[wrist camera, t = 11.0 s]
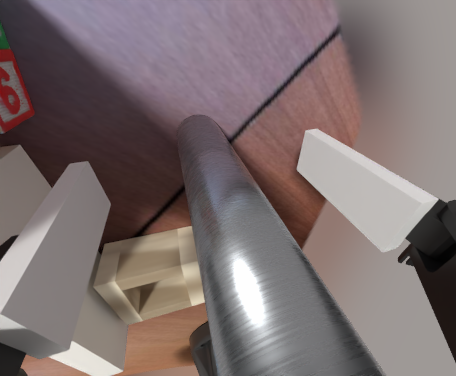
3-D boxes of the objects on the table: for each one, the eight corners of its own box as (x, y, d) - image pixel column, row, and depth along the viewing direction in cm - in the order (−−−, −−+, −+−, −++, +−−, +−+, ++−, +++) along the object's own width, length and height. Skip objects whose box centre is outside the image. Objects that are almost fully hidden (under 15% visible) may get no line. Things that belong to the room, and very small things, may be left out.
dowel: (221, 153, 15) (359, 411, 5) (180, 159, 15) (235, 472, 4) (219, 112, 14) (447, 392, 3) (172, 117, 13) (236, 503, 2)
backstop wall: (131, 296, 24) (123, 371, 18) (113, 301, 23) (100, 379, 18) (20, 144, 11) (-102, 237, 6) (-22, 149, 11) (-191, 253, 6)
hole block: (199, 268, 24) (205, 301, 21) (131, 286, 23) (126, 325, 20) (192, 225, 19) (198, 260, 16) (104, 243, 18) (93, 286, 15)
